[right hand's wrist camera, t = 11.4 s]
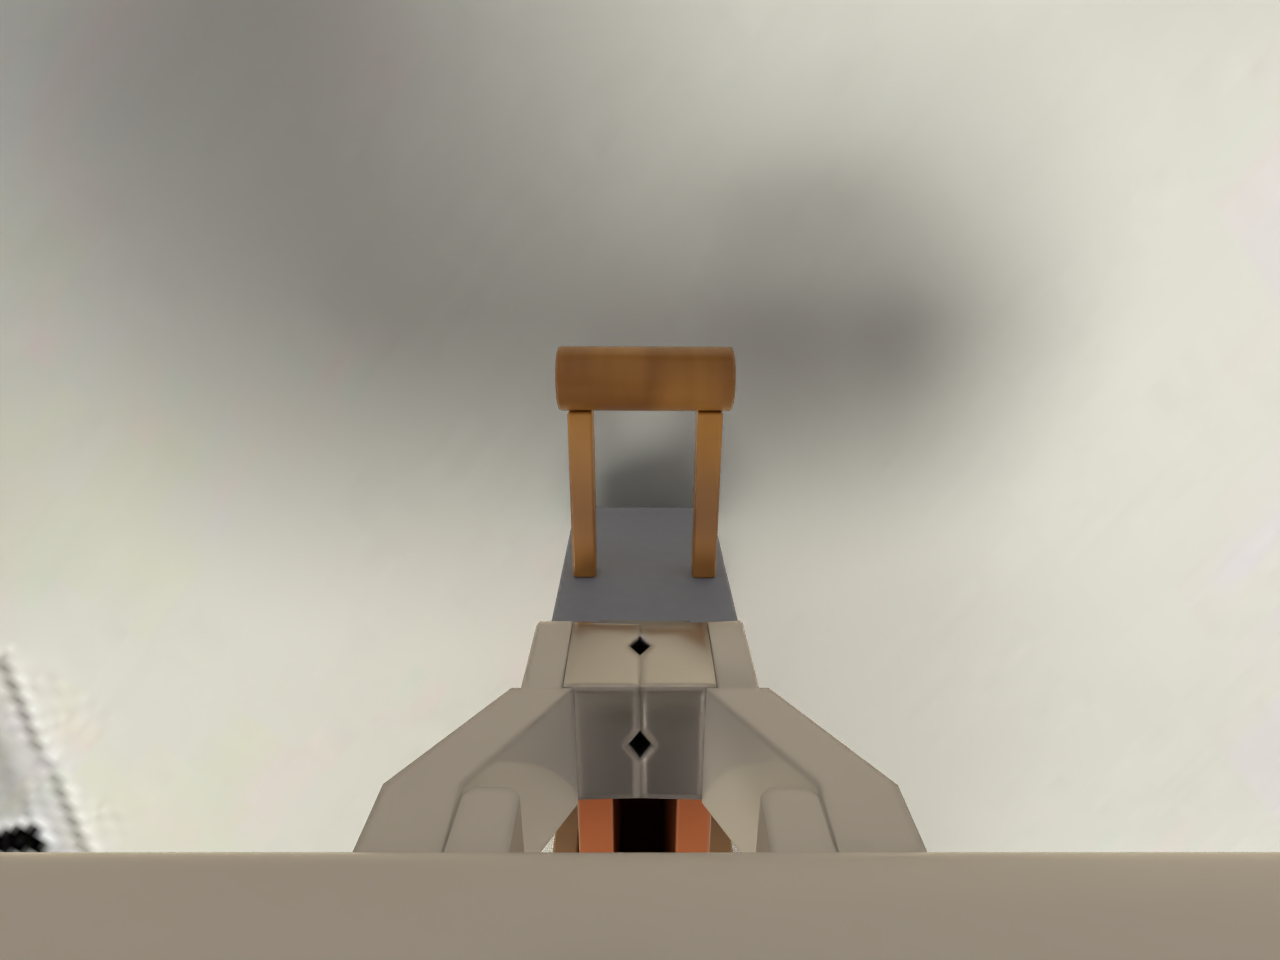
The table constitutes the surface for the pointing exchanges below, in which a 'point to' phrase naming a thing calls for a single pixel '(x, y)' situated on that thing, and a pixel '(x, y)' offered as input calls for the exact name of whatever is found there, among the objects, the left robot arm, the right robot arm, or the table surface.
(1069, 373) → the table surface
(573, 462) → the drawer
